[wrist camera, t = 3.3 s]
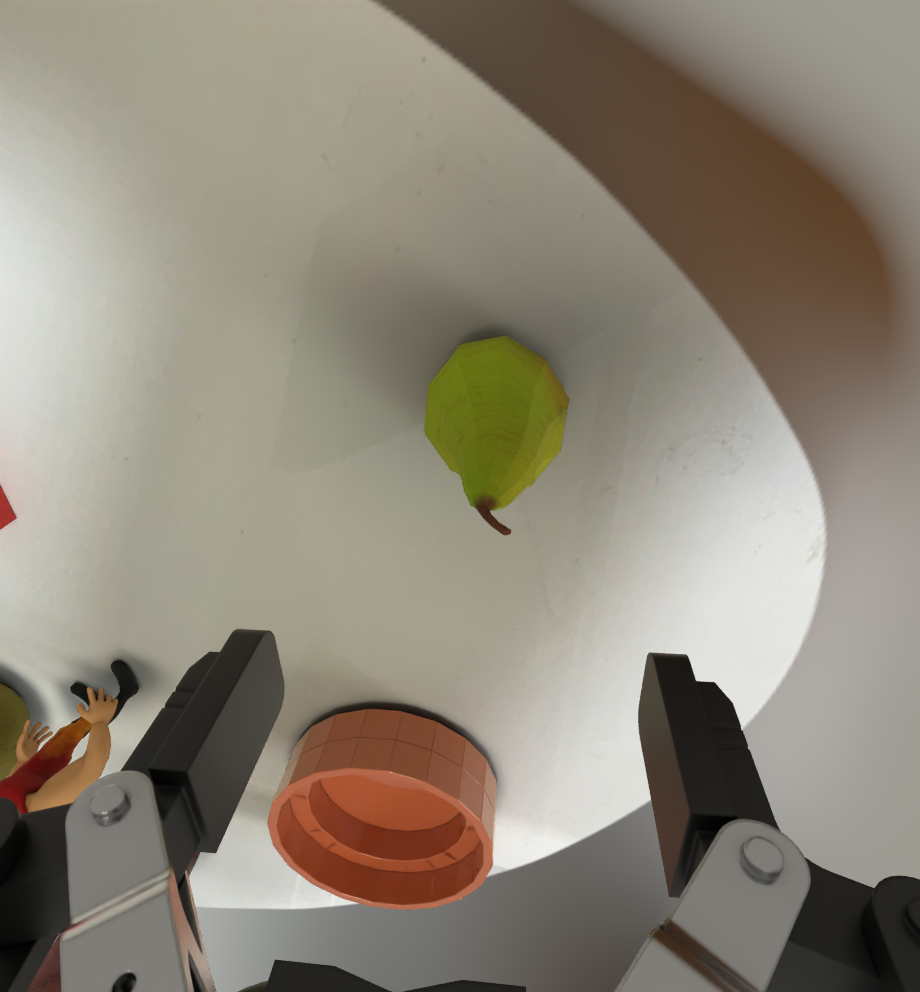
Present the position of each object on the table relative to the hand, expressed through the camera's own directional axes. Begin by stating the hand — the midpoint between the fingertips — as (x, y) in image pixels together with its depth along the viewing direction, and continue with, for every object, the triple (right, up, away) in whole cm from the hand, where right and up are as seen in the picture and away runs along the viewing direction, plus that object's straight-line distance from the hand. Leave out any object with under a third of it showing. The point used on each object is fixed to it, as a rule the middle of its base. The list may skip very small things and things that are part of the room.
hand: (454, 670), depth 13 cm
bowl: (-4, -16, +30) cm, 34 cm away
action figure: (-23, -9, +29) cm, 38 cm away
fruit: (+2, +9, +16) cm, 18 cm away
